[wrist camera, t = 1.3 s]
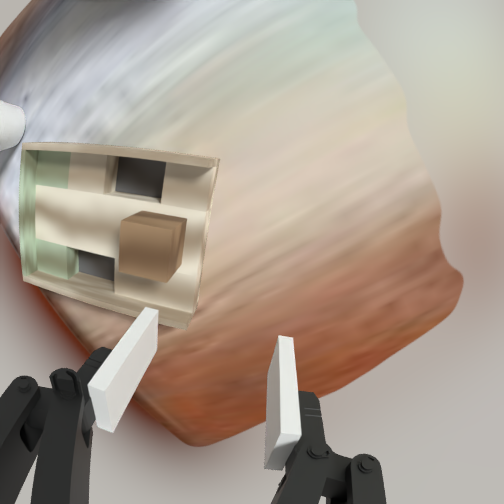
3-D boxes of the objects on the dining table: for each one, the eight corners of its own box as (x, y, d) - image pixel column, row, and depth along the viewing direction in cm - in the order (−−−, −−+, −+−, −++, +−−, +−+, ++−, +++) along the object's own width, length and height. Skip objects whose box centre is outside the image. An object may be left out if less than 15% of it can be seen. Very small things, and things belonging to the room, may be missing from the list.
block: (142, 210, 30) (120, 220, 25) (187, 218, 30) (172, 230, 25) (138, 255, 32) (118, 271, 27) (181, 264, 32) (166, 283, 27)
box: (49, 141, 31) (22, 142, 26) (219, 158, 31) (209, 159, 26) (46, 266, 36) (23, 280, 31) (197, 306, 36) (186, 330, 31)
